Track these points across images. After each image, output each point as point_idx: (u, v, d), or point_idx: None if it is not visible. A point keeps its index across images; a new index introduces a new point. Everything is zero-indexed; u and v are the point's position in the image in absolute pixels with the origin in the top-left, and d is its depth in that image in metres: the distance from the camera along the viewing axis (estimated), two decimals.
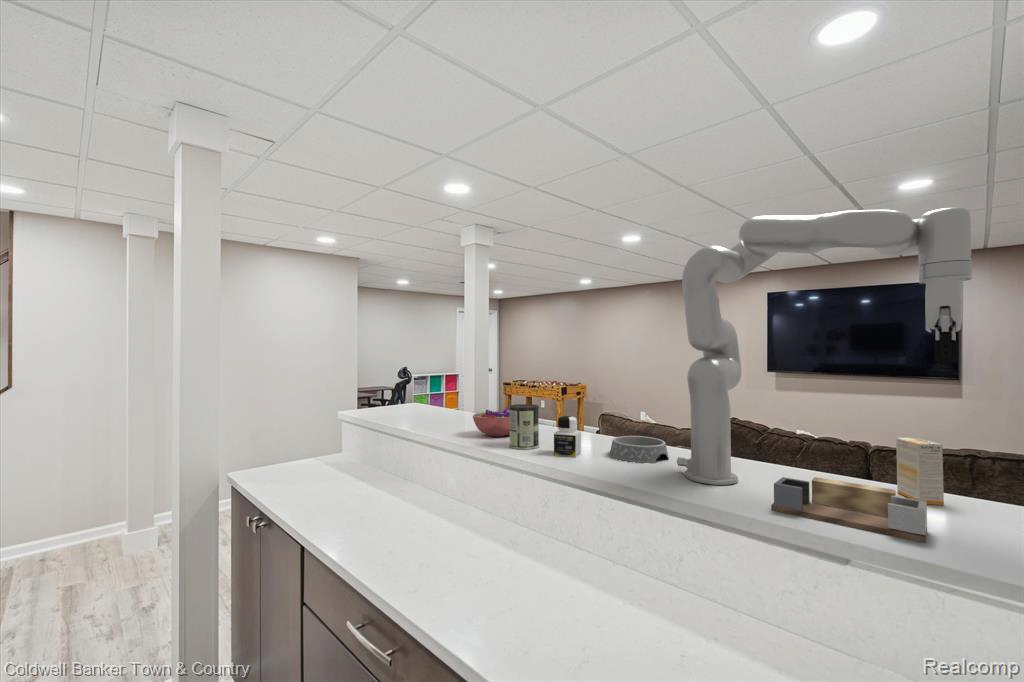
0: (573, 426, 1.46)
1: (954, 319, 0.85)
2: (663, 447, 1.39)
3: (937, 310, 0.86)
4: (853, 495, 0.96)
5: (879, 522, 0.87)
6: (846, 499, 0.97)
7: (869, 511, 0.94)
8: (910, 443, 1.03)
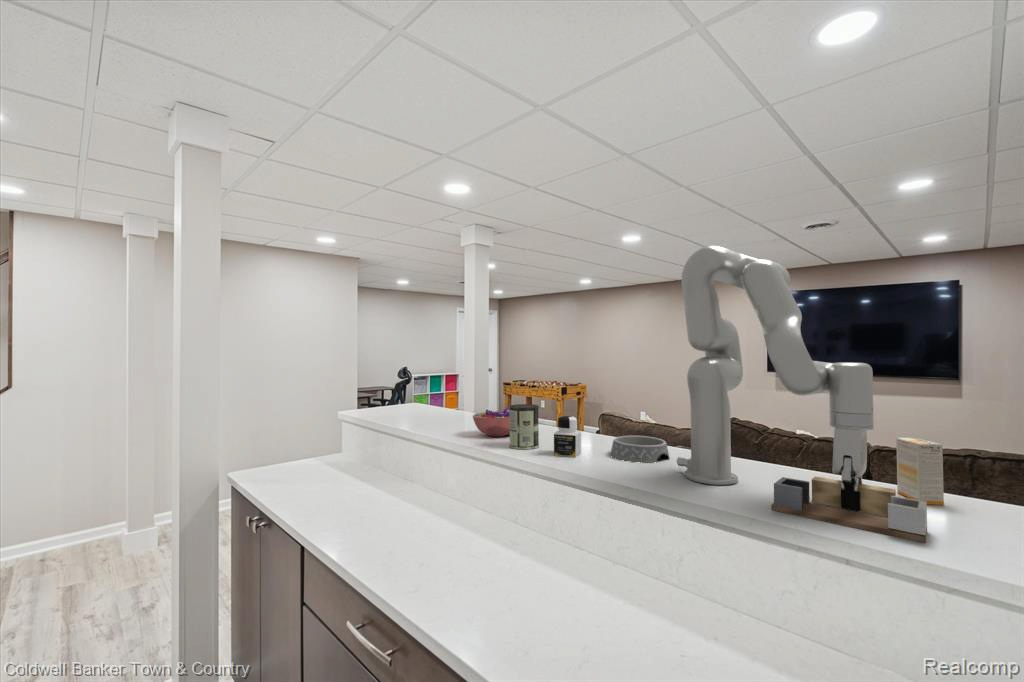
0: (573, 426, 1.46)
1: (855, 469, 0.94)
2: (664, 447, 1.40)
3: (841, 458, 0.95)
4: None
5: (879, 522, 0.87)
6: None
7: (869, 510, 0.94)
8: (910, 443, 1.03)
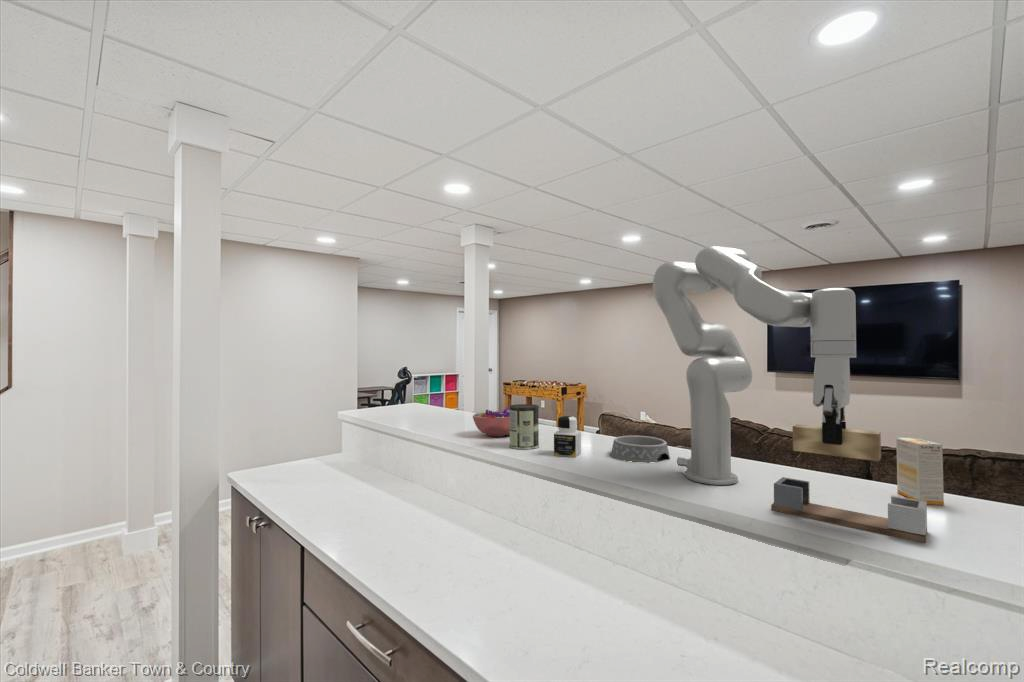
0: (573, 426, 1.46)
1: (836, 398, 0.88)
2: (664, 447, 1.40)
3: (822, 388, 0.89)
4: None
5: (879, 522, 0.87)
6: (828, 444, 0.91)
7: (852, 455, 0.89)
8: (910, 443, 1.03)
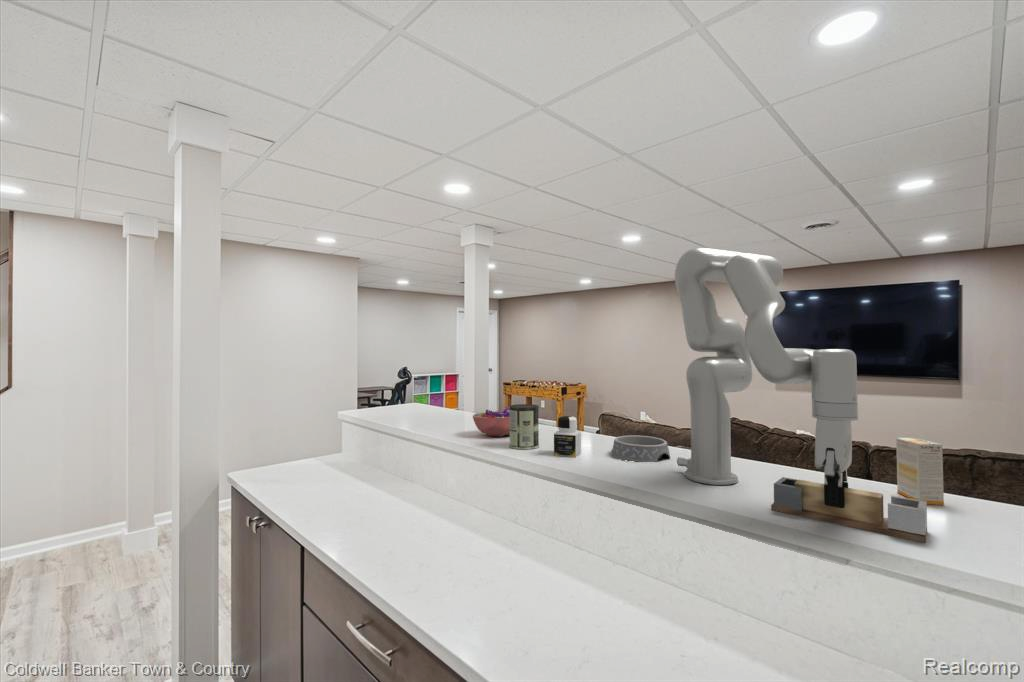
0: (573, 426, 1.46)
1: (838, 462, 0.87)
2: (665, 446, 1.40)
3: (823, 451, 0.89)
4: None
5: None
6: None
7: (854, 516, 0.88)
8: (910, 443, 1.03)
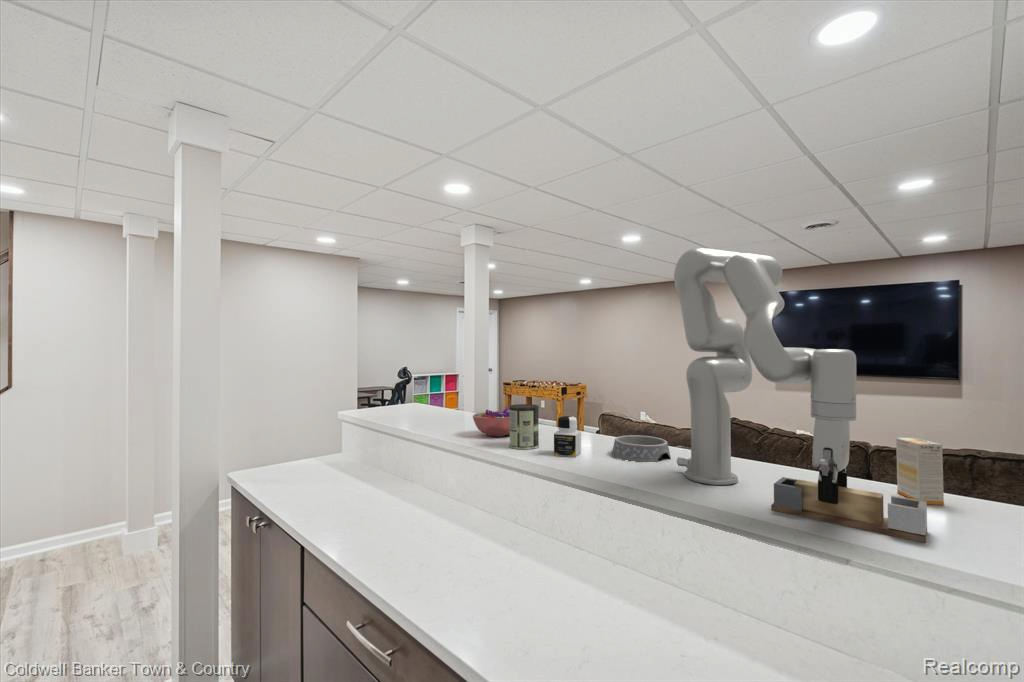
0: (573, 426, 1.46)
1: (835, 462, 0.88)
2: (665, 446, 1.40)
3: (821, 451, 0.89)
4: None
5: None
6: (830, 503, 0.91)
7: (854, 516, 0.88)
8: (910, 443, 1.03)
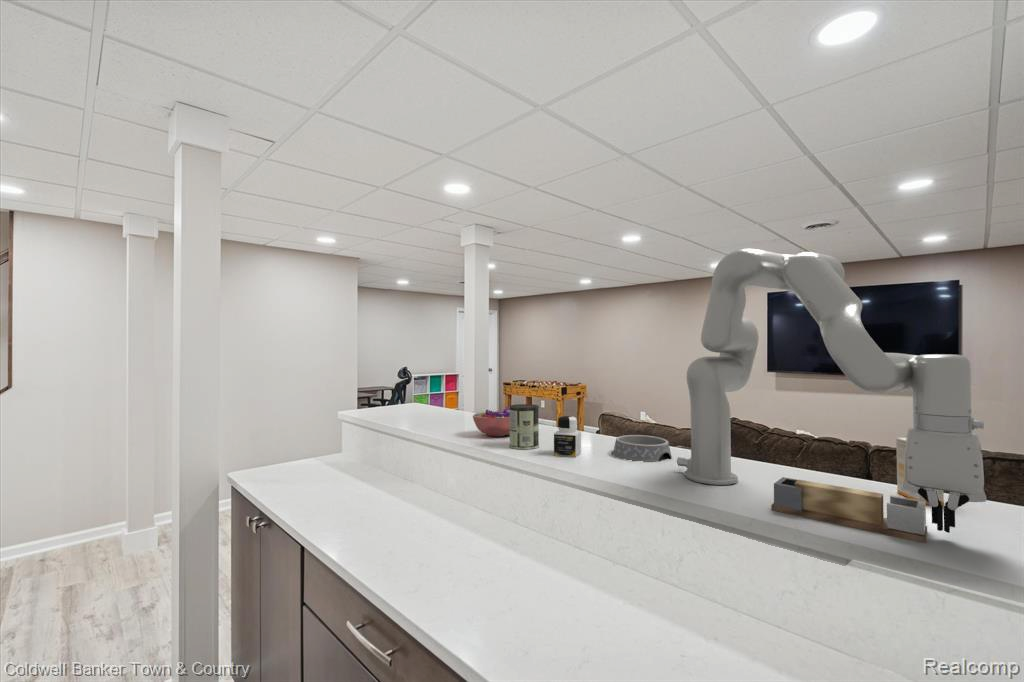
0: (573, 426, 1.46)
1: None
2: (666, 446, 1.41)
3: None
4: (837, 500, 0.90)
5: None
6: (830, 503, 0.91)
7: (854, 516, 0.88)
8: None
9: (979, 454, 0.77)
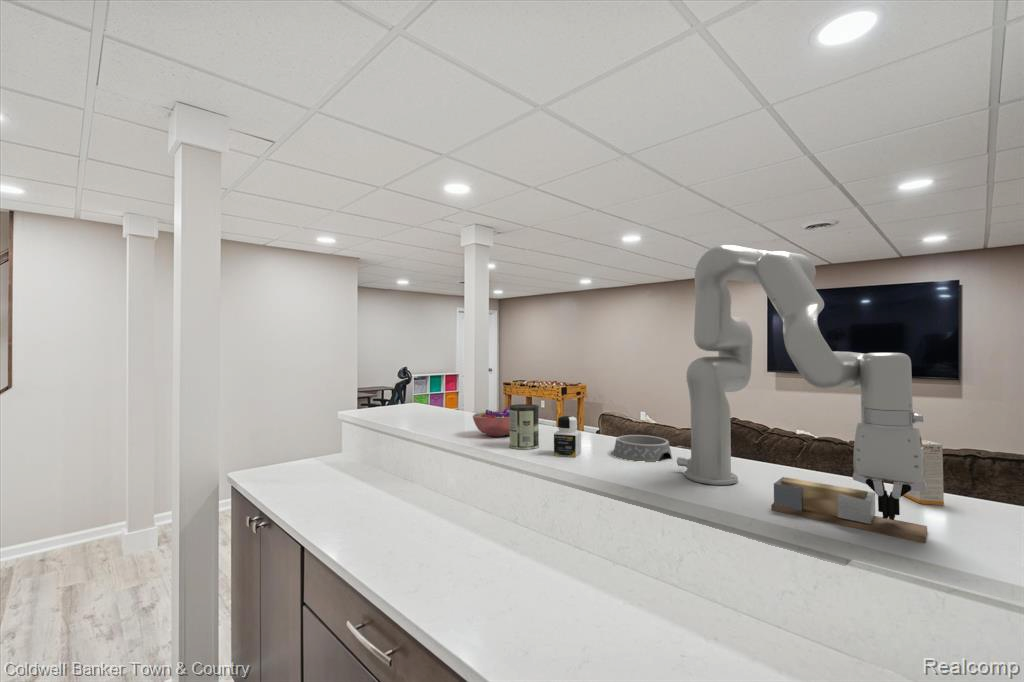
0: (573, 426, 1.46)
1: (853, 464, 0.89)
2: (666, 446, 1.41)
3: None
4: (823, 497, 0.91)
5: (879, 522, 0.87)
6: (816, 501, 0.92)
7: None
8: None
9: (919, 446, 0.82)
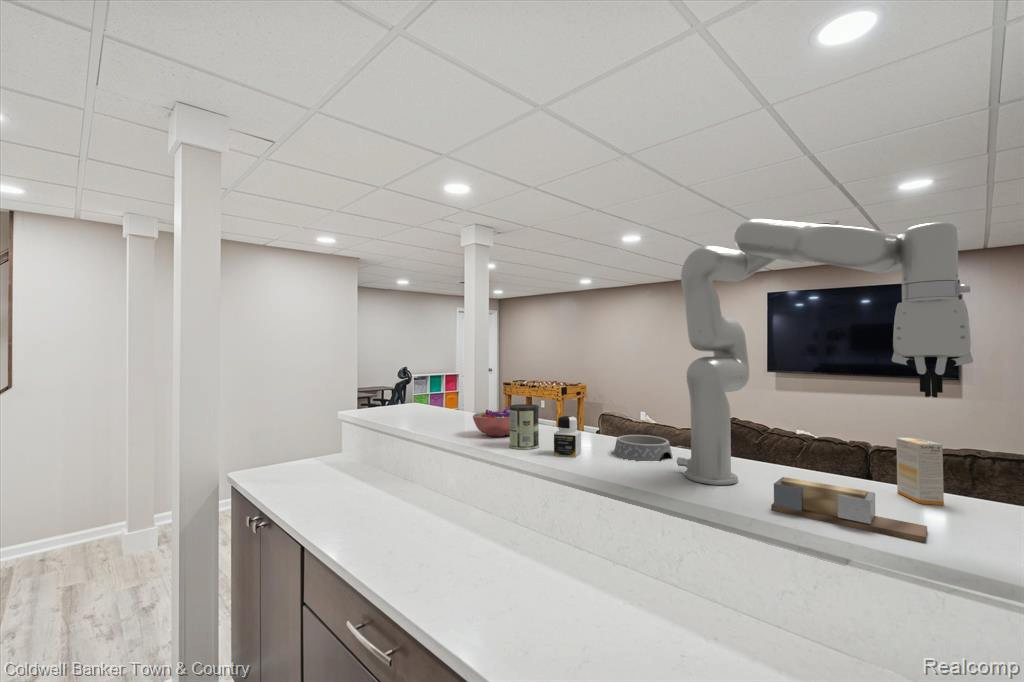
0: (573, 426, 1.46)
1: (893, 345, 0.85)
2: (667, 446, 1.41)
3: None
4: (823, 497, 0.91)
5: (879, 522, 0.87)
6: (816, 501, 0.92)
7: None
8: (910, 443, 1.03)
9: (966, 316, 0.78)
